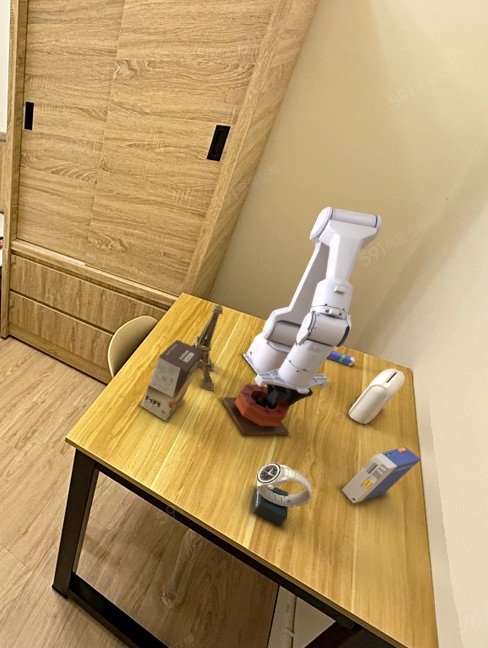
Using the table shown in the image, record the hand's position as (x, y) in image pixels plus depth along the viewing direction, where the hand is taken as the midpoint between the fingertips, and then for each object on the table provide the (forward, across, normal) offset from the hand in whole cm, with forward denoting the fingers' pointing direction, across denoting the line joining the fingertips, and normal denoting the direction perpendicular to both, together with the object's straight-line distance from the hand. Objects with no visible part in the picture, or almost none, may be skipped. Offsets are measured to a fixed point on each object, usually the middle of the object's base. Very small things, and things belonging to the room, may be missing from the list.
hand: (275, 405), depth 92 cm
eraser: (+4, +31, +20) cm, 37 cm away
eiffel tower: (+4, -12, +15) cm, 19 cm away
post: (+4, -4, 0) cm, 6 cm away
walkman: (+4, +8, -18) cm, 20 cm away
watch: (+4, -13, -21) cm, 25 cm away
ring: (+1, -3, 0) cm, 4 cm away
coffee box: (+4, -24, +4) cm, 24 cm away
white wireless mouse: (+4, +24, +2) cm, 25 cm away
